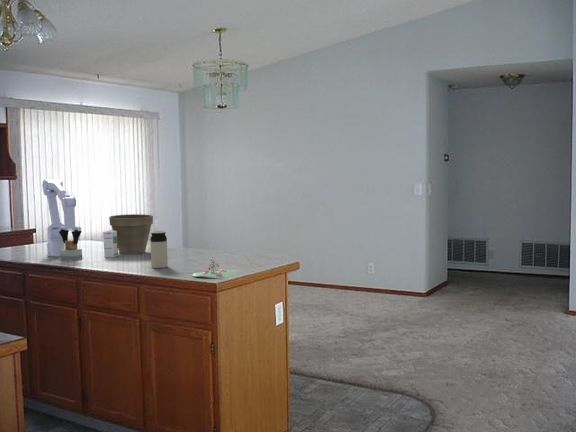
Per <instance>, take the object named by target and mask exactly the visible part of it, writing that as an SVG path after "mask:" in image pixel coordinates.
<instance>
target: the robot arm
mask: <svg viewBox="0 0 576 432" xmlns="http://www.w3.org/2000/svg"><path fill="white" fill-rule="evenodd" d="M41 184H42V185H41V187H42V192H43V195H44V196H46V198H47V205H48V211H49V216H50V221H51V222H50V223H51V224H49V226H48V227H47V230H46V231H47V234H46V235H47V238H48V240H49V241H48V242H47V244H46V248H47V249H46V251H47V252H46V253H47V255H46V256H47V257H56V258H57V257H58V258H59V257H61V254H60V250H63V249H65V241H66V240H69V239H68V238H69V237H68V236H69V232H71V235H72V240H73V241H74V244H77V245H78V243H79V239H80V236H81V235H82V226H76V212H75V211H76V210H75V209H76V208H75V207H76V206H77V200H76V197H75V196H71V194H69V191H67V190H66V189H64V188H63V187H64V185H63V181H62V179H61V178H55V179H50V178H49V179H43V181H42V183H41ZM57 199H59V200H60V202H61V206H62V208H61V209H62V211H63V223H62V222H61V218H60V212H59V206H58V200H57Z"/></svg>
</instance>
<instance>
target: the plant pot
mask: <svg viewBox="0 0 576 432" xmlns="http://www.w3.org/2000/svg"><path fill="white" fill-rule="evenodd" d="M108 220H109V225H110V226H111V229H112V230H115V231H117V243H118V254H120V255H121V254H122V255H137V254H138V255H139V254H143V253H146V249H147V245H148V241H149V235H150V233H151V227H152V225H153V222H154V216H153V215H152V214H140V213H139V214H137V213H135V214H131V213H130V214H117V215H110V216H109V219H108Z"/></svg>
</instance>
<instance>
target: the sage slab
mask: <svg viewBox="0 0 576 432" xmlns="http://www.w3.org/2000/svg"><path fill="white" fill-rule="evenodd" d="M60 254H61V255H62V256H75V255H81V254H82V255H83V249H82V248H77V249H75V250H65V249H63V250H60Z"/></svg>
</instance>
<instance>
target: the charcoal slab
mask: <svg viewBox="0 0 576 432" xmlns="http://www.w3.org/2000/svg"><path fill="white" fill-rule="evenodd" d="M82 259H83V253H82V254H81V255H75V256H62V255H61V256H60V261H71V262H72V261H78V260H82Z"/></svg>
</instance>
